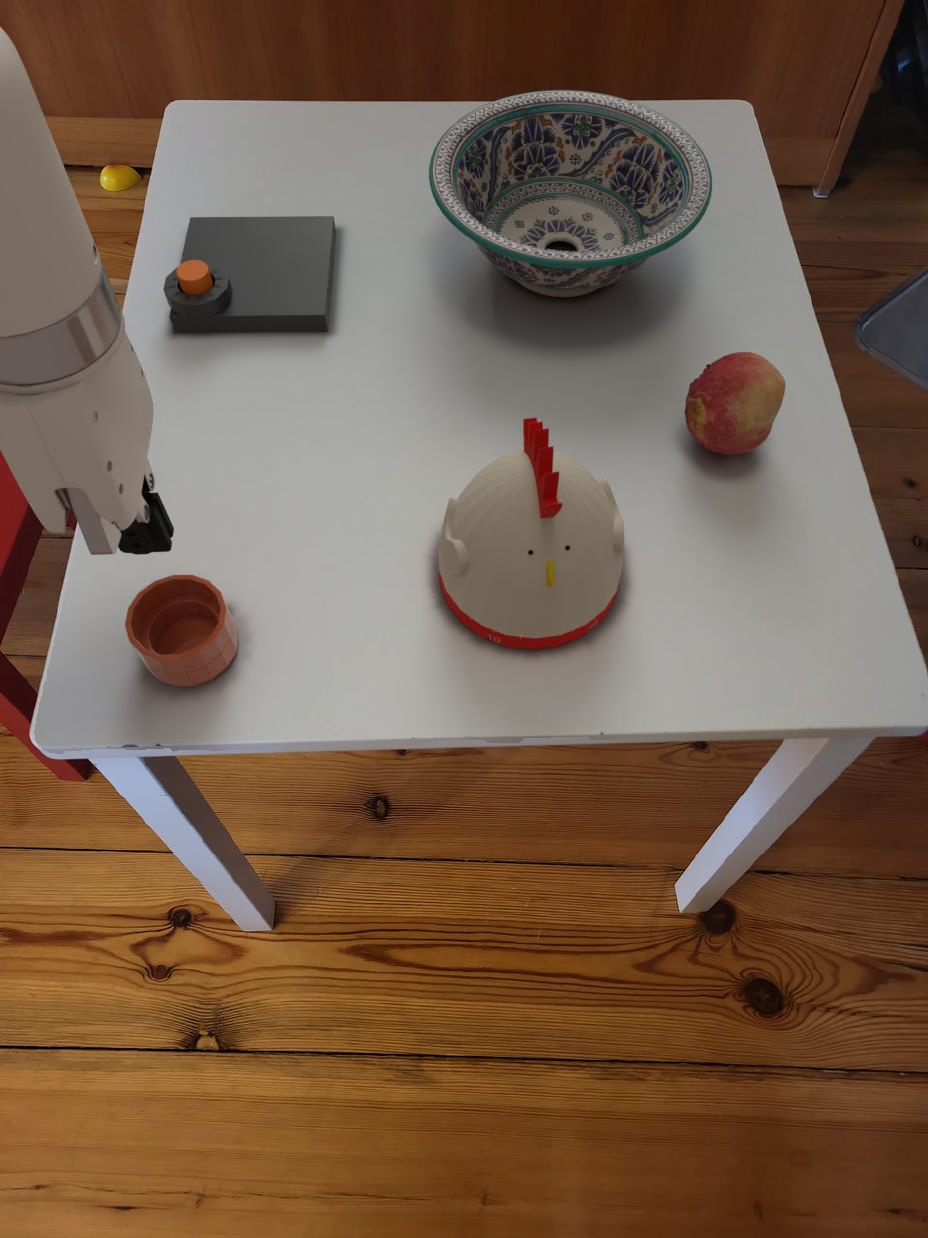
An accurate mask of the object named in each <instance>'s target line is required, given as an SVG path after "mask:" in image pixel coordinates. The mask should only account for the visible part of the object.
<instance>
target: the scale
mask: <svg viewBox="0 0 928 1238" xmlns="http://www.w3.org/2000/svg"><path fill="white" fill-rule="evenodd" d="M187 226H188V227H187V231H186V236H185V241H184V245H183V250H182V255H181V260H180V263H179V266H180V265H181V264H182V263H184V262H186V261H189V260H200V261H203V262H204V263H206V264H207V266H208V268H209V272H210V275H211V279H212V282H213V286H212V289H211V290H210V291H209V292H208V293H205V294H202V295H200V296H189V295H186V294H185V293H184V292H183V291H182V289H181V286H180V283H179V280H178V276H177V268H178V267H179V266H177V267H176V268H174V269H173V270H172V271H171V272H170V273H169V274H167V276H166V277H165V281H164V284H163V293H164V296H165V298H166V301H167V304H168V305H169V308H170V311H169V316H168V317H169V320H170V323H171V325H172V329H173V331H174V333H176V334H180V333H181V334H182V333H183V334H185V333H186V334H188V333H191V334H194V333H195V334H196V333H279V332H280V333H281V332H282V333H283V332H284V333H285V332H287V333H288V332H289V333H291V332H298V333H299V332H328V331H329V322H330V321H329V320H330V312H331V311H330V310H331V299H332V298H331V297H332V285H333V273H334V262H335V249H336V239H337V238H336V237H337V236H336V235H337V231H336V223H335V216H334V215H309V216H307V215H306V216H305V215H304V216H303V215H302V216H301V215H300V216H299V215H297V216H295V215H294V216H291V215H290V216H289V215H288V216H191V217H189V222H188V225H187Z"/></svg>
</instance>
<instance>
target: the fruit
mask: <svg viewBox="0 0 928 1238" xmlns="http://www.w3.org/2000/svg"><path fill="white" fill-rule="evenodd" d="M785 392H786V380H785V377H784V376H783V375H782V374H781V372H780V371H779V370H778V368H776V366H775V365H774V364H772V363H771V362H770V361H769V360H768V359H766V358H765V357H764V356H762V355H761V354H759V353H758V354H757V353H756V352H751V351H738V352H731V353H729V354H726V355H723V356H722V357H720V358H718V359H716V360H715V361H713V362H711V363H708V364H706V365H705V368H704V369H703V370H702V373H701V374H700V375H699V376H698V377H696V378H694V379H693V381H691V383H689V386H688V392H687V394H686V397H685V402H684V403H685V406H684V416H685V423H686V427H687V430H688V431H689V433H690V435H691V436H692V437H693V438H694V440H695V441H696V442H697V443H698V444H699V445H701V446H702V447H703V448H704V449H707V450H709V451H712V452H714V453H717V454H721V455H730V456H731V455H740V454H745V453H749V452H751V451H753V450H756V449H758V448H759V447H761V446H762V444H763V443H764V442H765V441H766V440H767V438H768V437H769V435H770V433H771V432H772V428H773V423H774V422H775V420H776V418H777V416H778V414H779V411H780V409H781V407H782V406H783V405H782V404H783V401H784V397H785Z"/></svg>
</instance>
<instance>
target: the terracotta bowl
mask: <svg viewBox="0 0 928 1238" xmlns="http://www.w3.org/2000/svg"><path fill="white" fill-rule="evenodd" d="M228 607H229V606H228V605H227V603H226V600H225V598H224V596H223V593H222V591H220V589H218V587H217V586H216V585H214V584H213V583H212V582H211V581H210V580H208V579H206V578H203V577H200V576H197V575H194V574H172V575H168V576H165V577H163V578H160V579H157V580H154V581H153V582H151V583H150V584H148V585H147V586H146V587H145V588H143V589H142V590H140V591H139V592H138V593H137V594H136V596H135V597H134V599H133V600H132V602H131V603H130V604H129V606H128V608H127V612H126V618H125V621H124V628H125V631H126V635H127V639H128V641H129V643H130V644H131V646H132V647H133V649H134V651H135V652H136V654H137V655H138V657H139V658H140V660H141V662H142V663H143V665H144V666H145V668H146V669H147V670H148V671H149V673H151V674H152V676H154V678H155V679H157V680H158V681H160V682H162V683H165V684H167V685H171V686H174V687H195V686H197V685H200V684H203V683H206V682H209V681H212V680H213V679H214V678H217V676H218V675H219V674H221V673H222V672H223V671H225V670H226V669H227V668H228V667H229V666H230V664H231V662H232V661H233V659H234V657H235V655H236V653H237V650H238V644H239V643H238V642H239V633H238V630H237V626H236V624H235V621H234V619H233V616H232V614H231V611H230V609H229V608H228Z"/></svg>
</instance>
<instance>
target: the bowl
mask: <svg viewBox="0 0 928 1238" xmlns="http://www.w3.org/2000/svg"><path fill="white" fill-rule="evenodd" d="M428 167H429V168H428V179H429V186H430V190H431V193H432V197H433V199H434V201H435V203H436V205H437V207H438V209H439V211H440V212H441V213H442V214H443V216H444V217H445V218H446V220H447V221H448V222H449V223H450V224H452V225H453V227H455V229H457V230H458V231H459V232H461V233H462V234H463V235H464V236H465V237H467V238H468V239H470V240H471V241H473V242H474V244H475V245H476V246H477V248H478V250H479V251H480V252H481V254H482V255H483V256H484V257H485V259H486V260H487V261H488V262H489V263H490V264H491V265H492V266H493V267H495V268H496V269H497V270H499V272H501V273H502V274H504V275H505V276H507V277H509V278H511V279H513V280H515V281H516V282H517V283H519V284H520V286H523V287H524V288H526V289H528V290H530V291H532V292H534V293H537V294H540V295H544V296H547V297H548V296H549V297H555V298H556V297H557V298H573V297H578V296H583V295H586V294H589V293H592V292H594V291H596V290H598V289H599V288H603V287H606V286H610V285H612V284H614V283H616V282H618V281H621V280H622V279H624V278H626V277H628V276H629V275H630V274H632V273H633V272H635V271H636V270H638V269H639V268H640V267H641V266H642V265H643V264H644V263H645V262H647V260H648V259H649V258H650V257H652V256H656V255H657V254H660V253H661V252H664V251H666V250H667V249H669V248H671V247H673V246H674V245H676V244H678V243H679V242H680V241H682V240H683V239H685V238H686V237H687V236H688V235H689V234H690V233H691V232H692V231H693V230H694V229H696V227H697V225H699V223H700V222H701V220H702V218H703V217H704V215H705V214H706V212H707V209H708V207H709V205H710V201H711V199H712V194H713V193H712V192H713V175H712V171H711V166H710V165H709V161H708V159H707V157H706V155H705V153H704V152H703V150H702V148H701V147H700V146H699V144H698V143H697V142H696V140H694V138H693V137H692V136H691V134H689V133H688V132H687V131H686V130H685V129H683V128H682V127H681V126H680V125H679V124H678V123H676V122H674V121H673V120H672V119H670V118H668V117H667V116H665V115H663V114H662V113H660V112H658V111H656V110H654V109H652V108H649V107H647V106H645V105H643V104H640V103H637V102H636V101H632V100H630V99H626V98H622V97H619V96H615V95H610V94H605V93H599V92H595V91H585V90H574V89H573V90H571V89H554V90H553V89H552V90H550V89H549V90H538V91H531V92H523V93H518V94H513V95H510V96H506V97H503V98H499V99H496V100H493V101H491V102H488V103H486V104H484V105H481V106H480V107H477V108H476V109H473V110H472V111H470V112H468V113H466V114H465V115H463V116H462V117H461V118H460V119H458V120H457V121H456V122H454V123H453V124H452V125H451V126H450V127H449V128H448V129H447V130H446V131H445V132H444V133H443V135H442V136H441V137H440V139H439V140H438V141H437V144H436V145H435V147H434V149H433V151H432V153H431V156H430V161H429V166H428ZM554 242H566V243H569V244H571V245H573V246H574V247H575V248H576V251H575V250H574V251H573V250H572V251H571V250H559V249H551V248H547V247H548V246H549V245H550V244H552V243H554Z"/></svg>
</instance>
